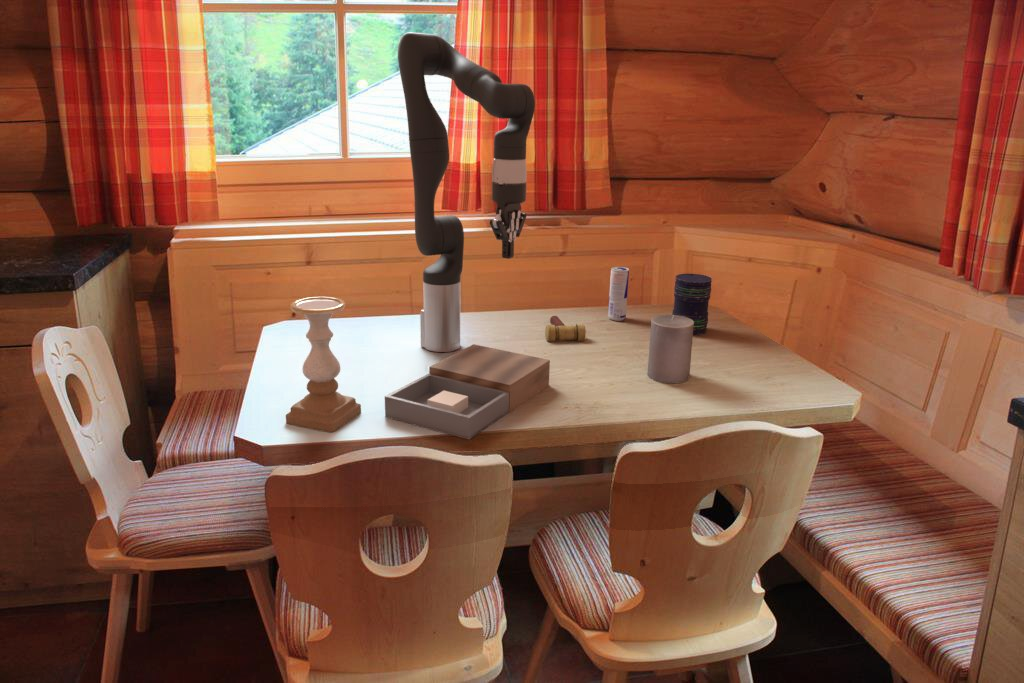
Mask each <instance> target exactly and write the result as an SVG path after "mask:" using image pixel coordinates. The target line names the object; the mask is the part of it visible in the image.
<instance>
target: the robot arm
mask: <svg viewBox="0 0 1024 683" xmlns="http://www.w3.org/2000/svg"><path fill="white" fill-rule="evenodd" d="M397 45H398V46H397V63H398V68H399V69H398V70H399V75H400V79H401V85H402V89H403V90H402V91H403V95H404V102H405V110H406V118H407V127H408V141H409V152H410V155H409V156H410V161H411V167H412V168H411V170H412V171H411V172H412V178H413V179H412V180H413V196H414V236H415V242H416V245H417V248H418V251H419V252H420V253H421V254H422V255H423V256H426V257H429V256H439V258H438V259H437V260H436V261H435V262H434V263H432V264H430V265H429V266H427V267H426V268H424V270H423V273H422V281H423V282H422V284H423V286H422V288H423V289H422V293H423V308H422V309H421V310H420V311H419V319H420V320H419V321H420V324H419V325H420V328H419V329H420V347H421V348H424V349H425V350H428V351H430V352H434V353H448V352H453V351H454V352H455V351H456V350H457V351H458V350H459V349H460V348H461V275H462V272H463V268H464V264H463V263H464V250H465V249H464V247H465V245H464V244H465V233H464V227H463V224H462V221H461V219H460V218H458V217H457V216H456V215H452V214H451V215H439V216H435V199H436V194H437V192H438V188H439V186H440V183H441V182H442V180H443V178H444V175H445V174H446V171H447V169H448V167H449V163H450V148H449V137H448V131H447V128H446V125H445V124H444V122H443V120H442V118H441V116H440V114H439V113H438V112H437V109H436V108H435V107H434V105H433V103H432V102H431V99H430V97H429V94H428V91H427V86H426V80H425V76H440V77H444V78H449V79H450V80H452V81H453V83H454V85H455V87H456V88H457V90H458V91H460V92H461V93H462V94H463V95H465V96H466V97H469V98H470V99H471V100H473V101H475V102H477V103H478V104H480V106H481V107H482V108H483V109H484V110H485V111H486V112H487V113H488V114H489V115H490V116H492V117H494V118H497V119H508V121H507V125H506V127H505V128H503V129H501V130H498V131H496V132H495V133H494V137H493V138H494V139H493V163H492V169H491V200H492V202H494V203H496V208H495V217H494V218H493V219H492V218H490V220H489V226H490V227H491V230H492V232H493V233H494V234H493V235H494V237H495V239H496V240H497V241H500V242H501V244H502V245H501V246H502V247H501V257H502V258H503V259H508V260H509V259H512V258H514V253H515V252H514V251H515V250H514V249H515V241H517V238H519V237H520V236H521V232H522V230H523V227H524V224H525V221H526V219H527V213H525V212H522V206H521V204H522V203H525V202H526V201H527V181H528V180H527V178H528V177H527V175H528V174H527V173H528V172H527V171H528V170H527V169H528V168H527V139H528V135H529V133H530V129H531V125H532V121H533V119H534V118H533V117H534V115H535V114H534V113H535V109H536V99H535V95H534V92H533V90H532V88H531V87H530V86H528V85H527V84H524V83H503V81H502V80H501V78H500V77H499V75H497V74H496V73H495V72H493V71H491V70H489V69H487V68H485V67H484V66H482V65H479V64H477V63H476V62H473V61H472V60H470V59H469V58H467V57H466V56H465V55H463V54H462V53H460V52H459V51H458V50H457V49H456V48H454V46H452V45H451V44H450V43H449V42H447V40H445V39H444V38H442V37H441V36H439V35H436V34H433V33H425V32H424V33H423V32H411V31H409V32H405V33H404V34H402V36H401V37H400V38H399V40H398V44H397Z"/></svg>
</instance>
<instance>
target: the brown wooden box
mask: <svg viewBox="0 0 1024 683" xmlns="http://www.w3.org/2000/svg"><path fill="white" fill-rule="evenodd" d="M550 363H551V359H547V358H542V357H538V356H537V357H536V356H533V355H527V354H523V353H518V352H514V351H513V352H512V351H508V350H503V349H498V348H493V347H489V346H484V345H480V344H474V343H473V344H472V345H470V346H467V347H466V348H464V349H462V350H460V351H457V352H455V353H454V354H451V355H450V356H448V357H445V358H444V359H441V360H439V361H438V362H435V363H434V364H432V365H429V370H428V371H429V372H428V374H432V375H437V376H441V377H445V378H450V379H454V380H458V381H462V382H467V383H471V384H475V385H480V386H484V387H488V388H493V389H497V390H501V391H505V392H509V413H510V412H512V411H513V410H515V409H516V408H518V407H519V406H520V405H522V404H523V403H525V402H526V401H528V400H529V399H531V398H532V397H534V396H535V395H536V394H538V393H539V392H541V391H543V390H544V389H545V388H547V387H548V386H549V385H550V365H551V364H550Z"/></svg>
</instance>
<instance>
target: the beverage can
mask: <svg viewBox="0 0 1024 683" xmlns="http://www.w3.org/2000/svg"><path fill="white" fill-rule="evenodd" d="M629 271H630V268H628V267H624V266H613V267H611V268H610V276H609V277H610V278H609V279H610V280H609V295H608V298H609V299H608V309H607V311H608V312H607V317H608V318H609V319H610V320H611V321H616V322H620V321H624V319H625V318H626V317H627V307H628V306H627V303H628V289H629V276H630V272H629Z"/></svg>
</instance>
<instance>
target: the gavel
mask: <svg viewBox="0 0 1024 683" xmlns="http://www.w3.org/2000/svg"><path fill="white" fill-rule="evenodd" d="M549 321H550V324H546V326H545V331H544V334H545V336H544V337H545V340H546V342H550V343H552V342H553V343H554V342H555V341H558V342H559V341H561V342H562V341H563V342H564V341H567V342H569V341H571V342H572V341H576V342H584V341H585V340H586V334H587V332H586V327H585V325H584V323H581V324H580V323H578V324H577V323H576V324H575V325H565V323H563V321H562V320H561V319H560V318H559V316H557V315H551V317H550V318H549Z"/></svg>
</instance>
